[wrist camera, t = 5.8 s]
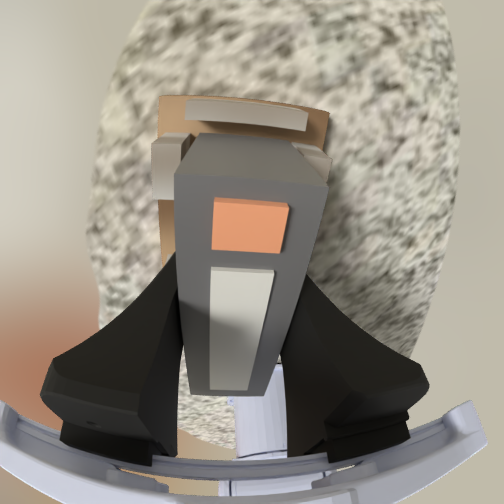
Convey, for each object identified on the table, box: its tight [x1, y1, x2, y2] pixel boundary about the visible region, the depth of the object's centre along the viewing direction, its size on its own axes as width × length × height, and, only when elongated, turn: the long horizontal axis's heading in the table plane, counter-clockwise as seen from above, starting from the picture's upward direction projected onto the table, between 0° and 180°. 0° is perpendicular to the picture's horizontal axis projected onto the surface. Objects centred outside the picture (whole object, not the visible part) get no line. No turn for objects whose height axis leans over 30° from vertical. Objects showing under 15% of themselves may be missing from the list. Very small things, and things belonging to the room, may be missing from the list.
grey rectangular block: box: [174, 133, 329, 397], centre depth 10 cm, size 10×3×5 cm, turn 173°
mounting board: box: [151, 95, 332, 267], centre depth 14 cm, size 13×8×4 cm, turn 173°
